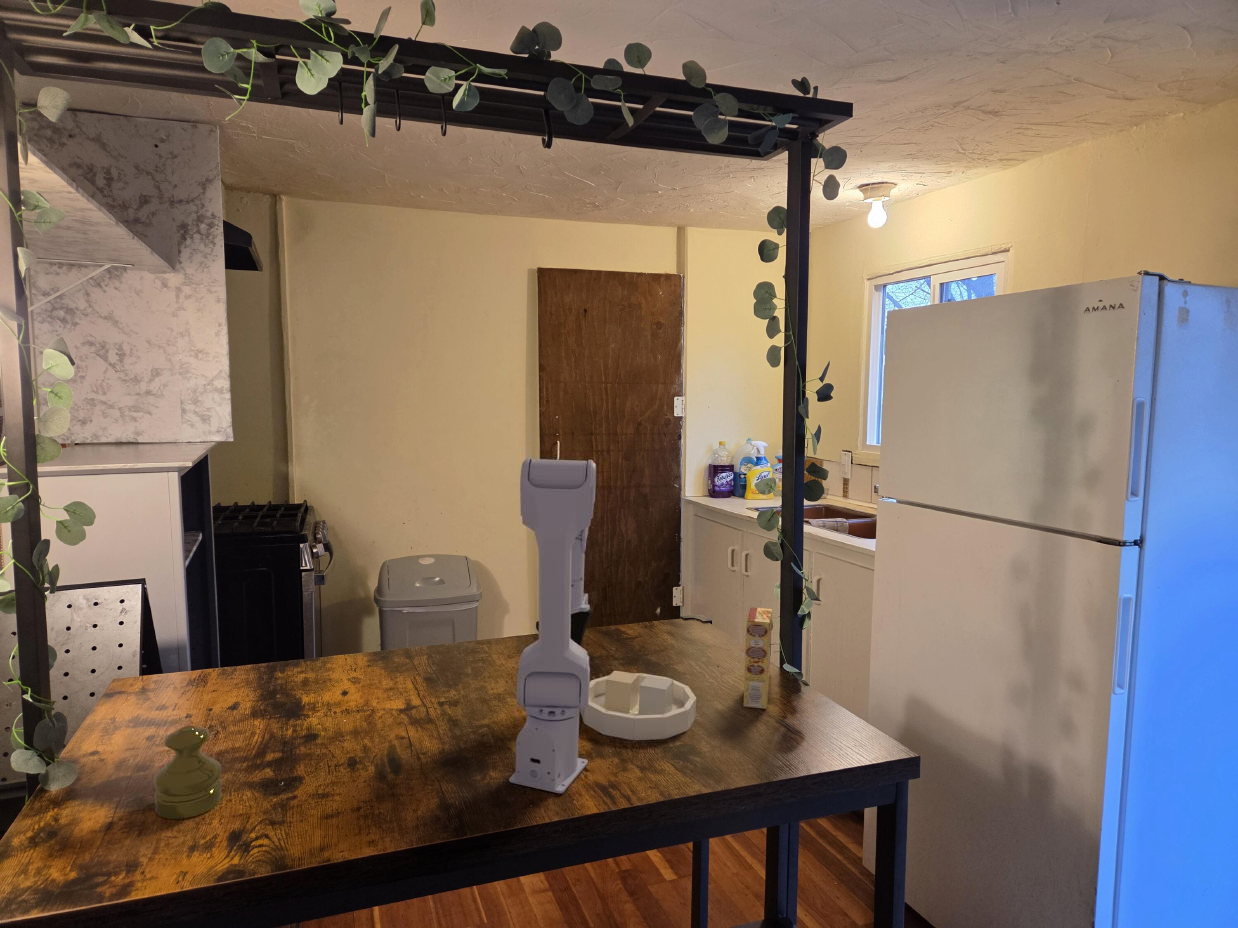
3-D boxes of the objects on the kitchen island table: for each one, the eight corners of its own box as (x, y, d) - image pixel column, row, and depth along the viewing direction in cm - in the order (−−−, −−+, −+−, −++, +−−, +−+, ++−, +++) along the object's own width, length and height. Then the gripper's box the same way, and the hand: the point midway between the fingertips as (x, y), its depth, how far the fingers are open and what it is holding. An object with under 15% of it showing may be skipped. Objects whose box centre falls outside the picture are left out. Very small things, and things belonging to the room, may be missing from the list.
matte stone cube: (664, 719, 126) (665, 689, 125) (638, 714, 127) (639, 684, 127) (672, 709, 130) (673, 680, 129) (647, 704, 131) (648, 675, 131)
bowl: (676, 748, 118) (677, 726, 118) (563, 726, 124) (564, 705, 124) (705, 703, 135) (706, 683, 135) (605, 686, 142) (605, 667, 141)
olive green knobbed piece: (142, 821, 94) (140, 741, 93) (171, 789, 102) (170, 715, 101) (207, 820, 95) (205, 741, 94) (231, 788, 102) (230, 715, 101)
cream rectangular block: (629, 712, 128) (630, 683, 127) (604, 708, 129) (605, 679, 129) (638, 702, 132) (639, 674, 131) (613, 698, 133) (614, 670, 133)
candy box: (766, 710, 133) (771, 622, 132) (741, 707, 134) (746, 620, 133) (768, 690, 142) (773, 608, 140) (745, 688, 143) (749, 606, 141)
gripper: (571, 590, 121) (568, 675, 123) (605, 570, 135) (602, 647, 136) (530, 584, 124) (528, 668, 125) (567, 566, 137) (565, 641, 139)
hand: (564, 657), depth 131 cm, fingers open, 7 cm apart
